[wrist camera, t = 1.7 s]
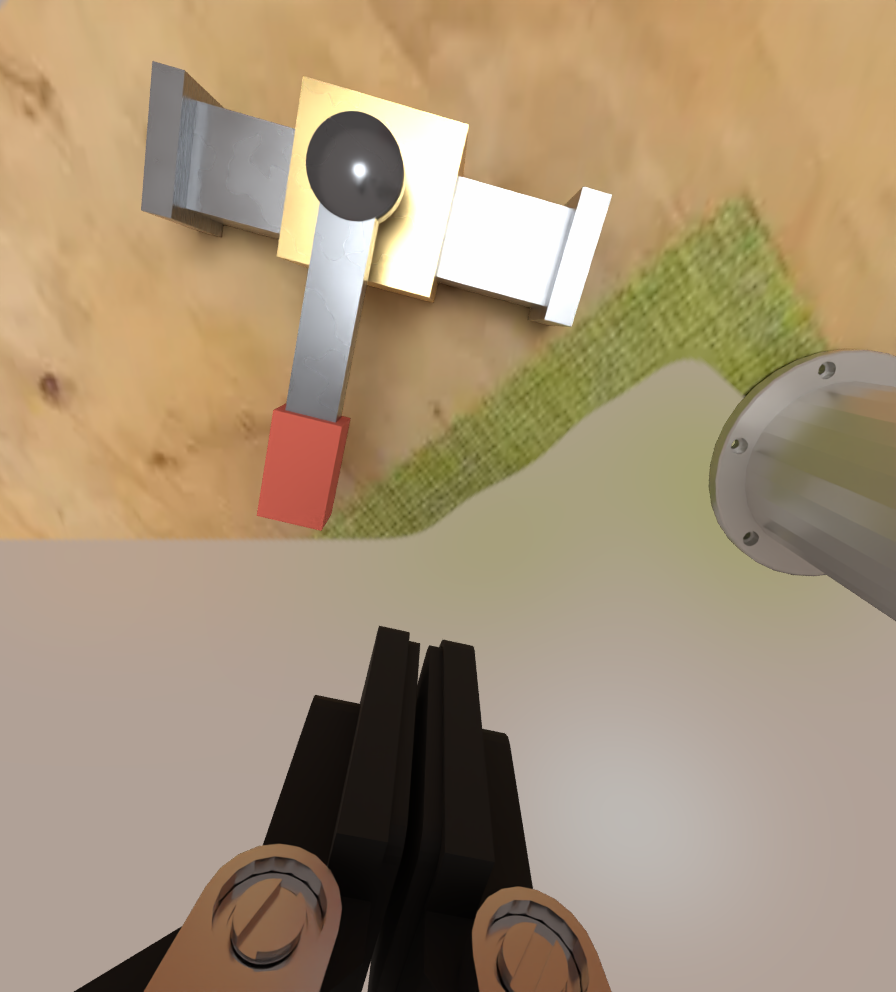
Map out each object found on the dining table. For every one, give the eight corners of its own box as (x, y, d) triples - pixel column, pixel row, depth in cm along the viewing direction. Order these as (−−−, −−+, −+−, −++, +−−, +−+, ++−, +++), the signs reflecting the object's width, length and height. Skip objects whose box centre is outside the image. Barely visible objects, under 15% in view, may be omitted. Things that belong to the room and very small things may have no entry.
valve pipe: (584, 209, 27) (648, 156, 18) (547, 333, 29) (590, 338, 20) (210, 101, 25) (90, -11, 17) (196, 239, 27) (80, 201, 19)
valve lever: (325, 115, 18) (312, 94, 16) (415, 142, 18) (412, 123, 16) (264, 498, 22) (248, 514, 20) (338, 516, 22) (329, 532, 20)
